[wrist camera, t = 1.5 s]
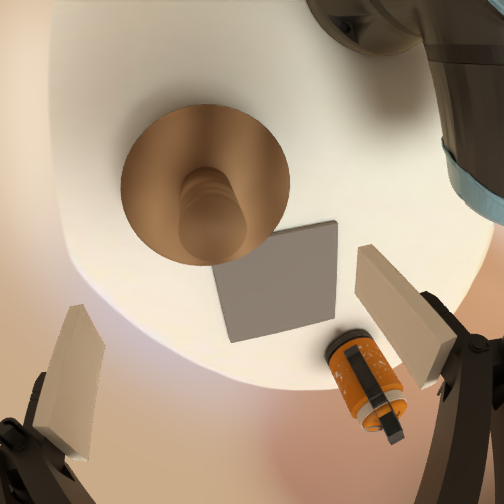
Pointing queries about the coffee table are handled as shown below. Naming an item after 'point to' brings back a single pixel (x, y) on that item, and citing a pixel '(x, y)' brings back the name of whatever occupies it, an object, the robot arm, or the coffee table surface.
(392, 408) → the canister
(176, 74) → the coffee table surface
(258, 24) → the coffee table surface
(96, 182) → the coffee table surface
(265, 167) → the walnut lid
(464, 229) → the coffee table surface
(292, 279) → the rubber mat
